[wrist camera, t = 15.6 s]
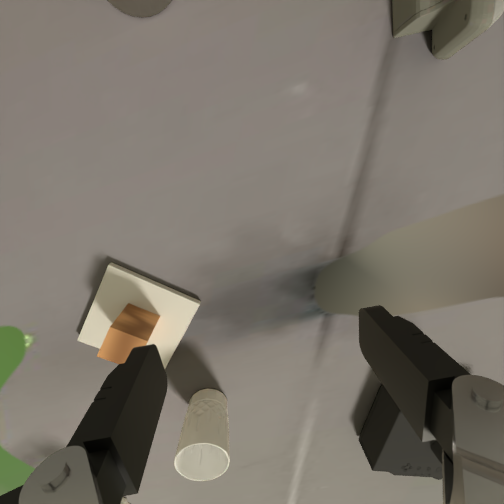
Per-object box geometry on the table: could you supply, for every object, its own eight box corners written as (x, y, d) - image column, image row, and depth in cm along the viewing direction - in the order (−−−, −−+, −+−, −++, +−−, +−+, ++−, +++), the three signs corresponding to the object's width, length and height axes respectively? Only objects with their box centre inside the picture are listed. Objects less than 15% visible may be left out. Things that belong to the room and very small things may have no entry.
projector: (353, 443, 53) (420, 599, 34) (380, 379, 48) (476, 518, 29) (437, 449, 55) (544, 598, 36) (471, 388, 50) (616, 523, 31)
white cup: (224, 381, 45) (222, 438, 36) (234, 413, 48) (234, 474, 38) (181, 390, 45) (166, 449, 36) (193, 422, 48) (182, 485, 38)
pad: (80, 336, 41) (77, 340, 40) (111, 262, 37) (108, 264, 36) (164, 367, 44) (163, 371, 43) (200, 301, 40) (199, 304, 39)
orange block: (116, 328, 40) (96, 356, 34) (128, 303, 38) (109, 326, 33) (147, 340, 41) (133, 369, 35) (160, 316, 39) (147, 341, 34)
